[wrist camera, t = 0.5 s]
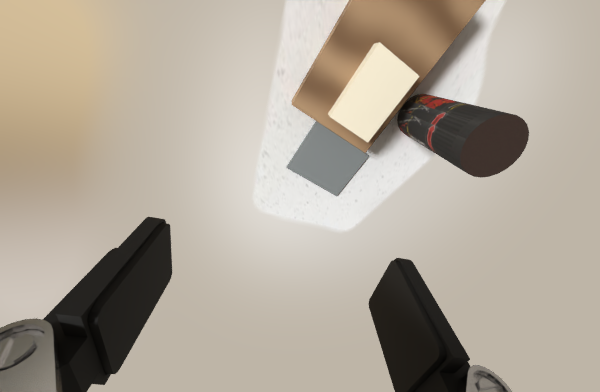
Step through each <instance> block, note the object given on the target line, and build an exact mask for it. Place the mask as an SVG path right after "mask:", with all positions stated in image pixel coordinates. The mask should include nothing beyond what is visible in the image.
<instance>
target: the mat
mask: <svg viewBox="0 0 600 392" xmlns="http://www.w3.org/2000/svg"><path fill="white" fill-rule="evenodd" d="M368 157H369V155H367V154H366V153H364V152H363V151H361V150H360V149H358V148H357V147H355V146H354V145H352V144H351V143H349V142H348V141H346V140H345V139H343V138H342V137H340V136H339V135H337V134H335V133H334V132H332V131H331V130H329V129H328V128H326V127H325V126H323V125H322V124H320V123H319V122H317V121H316V122H315V124H314V125H313V127H312V128H311V130H310V132H309V133H308V135H307V136H306V138H305V139H304V141H303V142H302V144H301V145H300V147H299V149H298V150H297V152H296V153H295V155H294V156H293V158H292V159H291V161H290V163H289V164H288V166H287V168H288V169H290V170H292V171H293V172H295V173H297V174H299V175H300V176H302V177H304V178H306V179H307V180H309V181H311V182H313V183H314V184H316V185H318V186H320V187H321V188H323V189H325V190H327V191H328V192H330V193H332V194H334V195H336V196H337V195H338V194H339V193H340V192H341V190H342V189H343V188H344V187H345V185H346V184H347V183H348V182H349V180H350V179H351V178H352V177H353V175H354V174H355V173H356V172H357V170H358V169H359V168H360V167H361V165H362V164H363V163H364V162H365V160H366V159H367V158H368Z"/></svg>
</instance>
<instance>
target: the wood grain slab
mask: <svg viewBox="0 0 600 392" xmlns="http://www.w3.org/2000/svg"><path fill="white" fill-rule="evenodd" d="M484 2H485V0H349V2H348V4H347V5H346V7H345V9H344V10H343V12H342V14H341V16H340V17H339V19H338V21H337V23H336V24H335V26H334V28H333V30H332V31H331V33H330V35H329V37H328V38H327V40H326V42H325V44H324V45H323V47H322V49H321V50H320V52H319V54H318V56H317V57H316V59H315V61H314V63H313V64H312V66H311V68H310V70H309V71H308V73H307V75H306V77H305V78H304V80H303V82H302V84H301V85H300V87H299V89H298V91H297V92H296V94H295V96H294V97H293V99H292V105H293V106H295V107H296V108H298V109H299V110H301V111H302V112H304V113H305V114H307V115H308V116H310V117H311V118H313V119H314V120H316V121H317V122H319V123H320V124H322V125H323V126H325V127H326V128H328V129H329V130H331V131H333V132H334V133H336V134H337V135H339V136H340V137H342V138H343V139H345V140H346V141H348V142H349V143H351V144H352V145H354V146H355V147H357V148H358V149H360V150H361V151H363V152H364V153H366V151H367V150H368V149H369V148H370V146H371V145H372V144H373V142H374V141H375V140H376V139H377V137H378V136H379V135H380V134H381V132H382V131H383V130H384V129H385V127H386V126H387V125H388V123H389V122H390V121H391V120H392V118H393V117H394V116H395V115H396V113H397V112H398V111H399V110H400V108H401V107H402V106H403V104H404V103H405V102H406V101H407V99H408V98H409V97H410V96H411V94H412V93H413V92H414V90H415V89H416V88H417V87H418V85H419V84H420V83H421V82H422V80H423V79H424V78H425V77H426V75H427V74H428V73H429V71H430V70H431V69H432V68H433V66H434V65H435V64H436V63H437V61H438V60H439V59H440V58H441V56H442V55H443V54H444V52H445V51H446V50H447V49H448V47H449V46H450V45H451V44H452V42H453V41H454V40H455V38H456V37H457V36H458V35H459V33H460V32H461V31H462V30H463V28H464V27H465V26H466V25H467V23H468V22H469V21H470V19H471V18H472V17H473V16H474V14H475V13H476V12H477V11H478V9H479V8H480V7H481V5H482V4H483V3H484ZM379 42H380V43H381V44H382V45H383V46H385V47H386V48H387V49H388V50H389V51H391V52H392V53H393V54H394V55H395V56H396V57H398V58H399V59H400V60H401V61H402V62H404V63H405V64H406V65H407V66H408V67H409V68H411V69H412V70H413V71H414V72H415V73H416V74H418V75H419V78H418V79H417V80H416V81H415V83H414V84H413V85H412V87H411V88H410V89H409V90H408V92H407V93H406V94H405V96H404V97H403V98H402V99H401V101H400V102H399V103H398V105H397V106H396V107H395V108H394V110H393V111H392V112H391V114H390V115H389V116H388V117H387V119H386V120H385V121H384V123H383V124H382V125H381V126H380V128H379V129H378V130H377V132H376V133H375V134H374V135H373V137H372V138H371V139H370V141H369V142H366V141H365V140H363V139H362V138H360V137H359V136H357V135H356V134H354V133H353V132H351V131H350V130H348V129H347V128H345V127H344V126H343V125H341V124H340V123H338V122H337V121H335V120H334V119H332V118H331V117H330V116H329V115H328V113H329V111H330V110H331V108H332V107H333V105H334V104H335V102H336V101H337V99H338V98H339V96H340V95H341V93H342V92H343V90H344V89H345V87H346V86H347V84H348V82H349V81H350V79H351V78H352V76H353V75H354V73H355V72H356V70H357V69H358V67H359V66H360V64H361V63H362V61H363V60H364V58H365V57H366V55H367V54H368V52H369V51H370V49H371V48H372V46H373V44H375V43H379Z"/></svg>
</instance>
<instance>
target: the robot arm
mask: <svg viewBox="0 0 600 392" xmlns="http://www.w3.org/2000/svg"><path fill="white" fill-rule="evenodd" d="M171 275H172V259H171V236H170V225H169V224H166V221H165V220H164V219H159V218H153V217H147V218H146V219H145V220H144V221H143V222H142V223H141V224H140V225H139V226H138V227H137V228H136V229H135V230H134V231H133V233H132V234H131V235H130V236H129V237H128V238H127V239H126V240H125V241H124V242H123V243H122V244H121V245H120V246H119V248H114V249H112V250H111V251H109V252H108V253H107V254H106V255H105V256H104V257H103V258H102V259H101V260H100V261H99V263H97V264H96V265H95V267H94V268H93V269H92V270H91V271H90V272H89V273H88V274H87V275H86V276H85V277H84V278H83V279H82V280H81V281H80V282H79V283H78V284H77V285H76V286H75V287H74V288H73V289H72V290H71V291H70V292H69V293H68V294H67V295H66V296H65V297H64V298H63V299H62V301H61V302H60V303H59V304H58V305H57V306H56V307H55V308H54V309H53V310H52V311H51V312H50V313H49V314H48V315H47V316H46V317H45V318H44V319H43V320H41V319H25V320H21V321H17V322H14V323H11V324H8V325H6V326H4V327H1V328H0V392H87V390H88V389H89V387H90V386H91V384H100V385H105V383H106V382H107V380H108V378H109V376H110V375H111V374H115V373H117V372H118V370H119V369H120V367H121V366H122V364H123V362H124V360H125V359H126V357H127V355H128V353H129V352H130V350H131V348H132V346H133V345H134V343H135V341H136V339H137V337H138V336H139V334H140V332H141V330H142V329H143V327H144V325H145V323H146V322H147V320H148V318H149V316H150V315H151V313H152V311H153V309H154V307H155V306H156V304H157V302H158V300H159V299H160V297H161V295H162V293H163V292H164V290H165V288H166V286H167V285H168V283H169V281H170V279H171ZM369 308H370V311H371V315H372V318H373V321H374V325H375V328H376V331H377V334H378V338H379V341H380V344H381V348H382V351H383V354H384V357H385V361H386V364H387V367H388V370H389V374H390V377H391V380H392V383H393V386H394V390H395V392H512V391H511V390H510V388H509V387H508V386H507V384H506V383H505V382H504V381H503V380H502V379H501V378H500V377H499V376H497V375H496V374H495V373H494V372H492V371H490V370H489V369H487V368H485V367H482V366H479V365H473V366H472V367H470V365H469V363H468V362H467V361H469V360H470V358H469V357H468V355H467V353H466V351H465V350H464V348H463V346H462V345H461V343H460V341H459V340H458V338H457V336H456V335H455V333H454V331H453V330H452V328H451V326H450V324H449V323H448V321H447V319H446V318H445V316H444V314H443V313H442V311H441V309H440V308H439V306H438V304H437V303H436V301H435V299H434V298H433V296H432V294H431V292H430V291H429V289H428V287H427V286H426V284H425V282H424V281H423V279H422V277H421V275H420V274H419V272H418V270H417V269H416V267H415V265H414V264H413V262H412V261H411V260H407V259H401V258H396V259H395V260H394V261H391V263H390V264H389V266H388V268H387V270H386V271H385V273H384V275H383V277H382V278H381V280H380V282H379V284H378V285H377V287H376V289H375V291H374V292H373V294H372V296H371V298H370V300H369Z"/></svg>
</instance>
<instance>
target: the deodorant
mask: <svg viewBox="0 0 600 392" xmlns="http://www.w3.org/2000/svg"><path fill="white" fill-rule="evenodd" d="M398 125H399V128H400V130H401V131H402V132H403V133H404V134H406V135H407V136H409V137H410V138H412V139H414V140H415V141H417V142H418V143H420V144H422V145H423V146H425V147H426V148H428V149H430V150H431V151H433V152H434V153H436V154H438V155H439V156H441V157H442V158H444V159H445V160H447V161H449V162H450V163H452V164H453V165H455V166H457V167H458V168H460V169H462V170H463V171H465V172H466V173H468V174H470V175H472V176H475V177H488V176H492V175H495V174H498V173H500V172H501V171H503V170H505V169H507V168H508V167H509V166H511V165H512V164H513V163H514V162H515V161H516V160H517V159H518V158H519V157H520V155H521V154H522V152H523V151H524V149H525V147H526V144H527V141H528V136H529V130H528V127H527V124H526V123H525V121H524V120H523V119H522V118H520V117H518V116H517V115H513V114H509V113H504V112H500V111H496V110H491V109H487V108H483V107H479V106H474V105H470V104H466V103H461V102H457V101H453V100H448V99H444V98H440V97H435V96H431V95H426V94H420V95H416V96H414V97H412V98H410V99H409V100H408V101H407V102H406V103H405V104H404V105H403V106H402V108H401V110H400V112H399V115H398Z"/></svg>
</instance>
